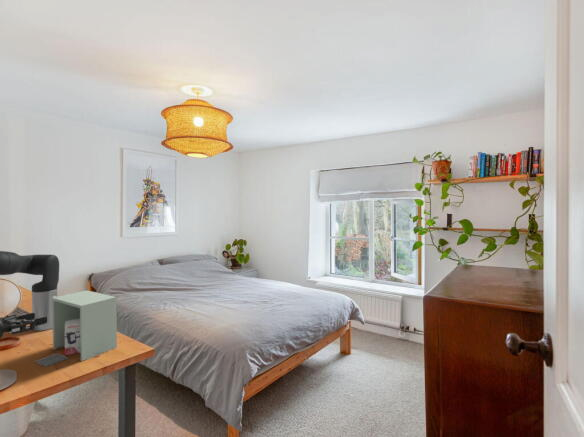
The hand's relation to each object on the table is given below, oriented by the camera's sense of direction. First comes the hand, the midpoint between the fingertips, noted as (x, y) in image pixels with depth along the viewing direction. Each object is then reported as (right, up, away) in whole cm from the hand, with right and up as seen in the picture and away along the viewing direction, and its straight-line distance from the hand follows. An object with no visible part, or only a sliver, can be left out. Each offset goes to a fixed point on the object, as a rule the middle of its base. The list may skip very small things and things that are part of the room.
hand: (40, 317), depth 113 cm
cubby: (+7, -16, +14) cm, 22 cm away
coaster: (+1, -16, +4) cm, 17 cm away
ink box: (+6, -16, +11) cm, 21 cm away
